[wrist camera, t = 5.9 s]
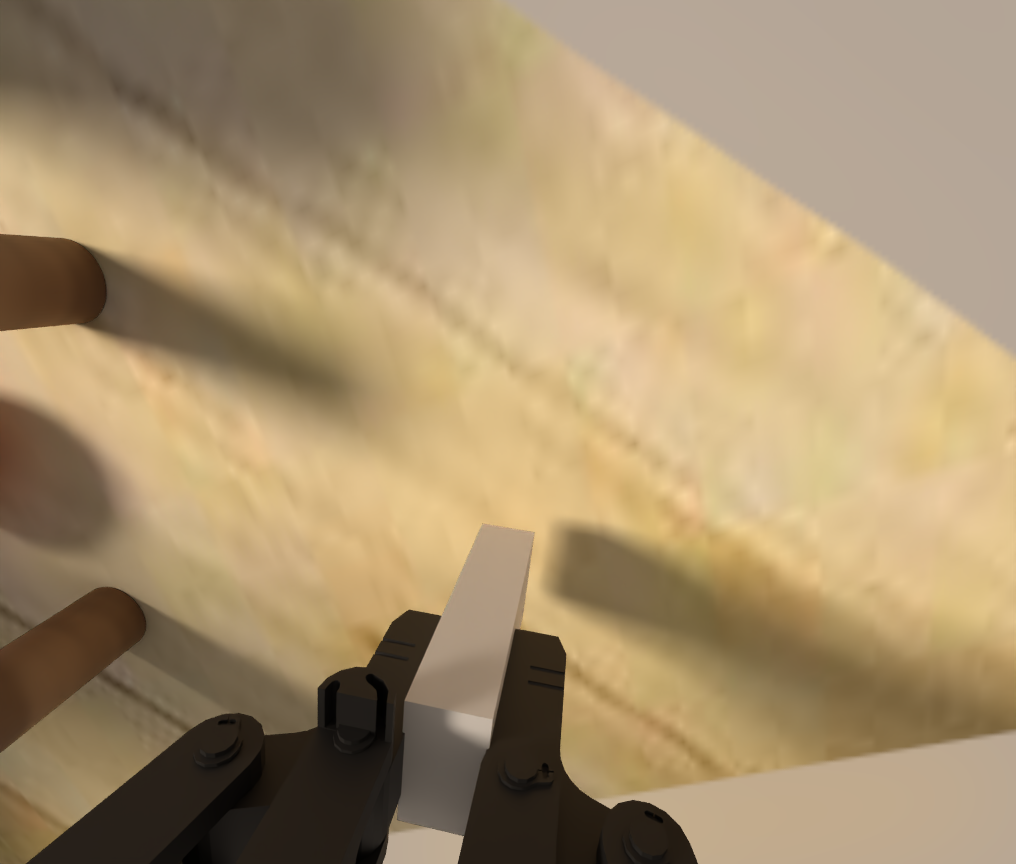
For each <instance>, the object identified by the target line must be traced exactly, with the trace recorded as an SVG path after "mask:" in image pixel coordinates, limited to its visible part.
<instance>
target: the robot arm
mask: <svg viewBox="0 0 1016 864" xmlns="http://www.w3.org/2000/svg"><path fill="white" fill-rule="evenodd" d="M533 539H534V532H530V531H524V530H518V529H512V528H507V527H501V526H495V525H489V524H483V523H482V525H481V528H480V530H479V532H478V534H477V537H476V539H475V541H474V543H473V546H472V548H471V550H470V553H469V555H468V557H467V559H466V562H465V564H464V566H463V569H462V571H461V573H460V575H459V578H458V580H457V582H456V584H455V587H454V589H453V591H452V594H451V596H450V598H449V600H448V603H447V605H446V607H445V609H444V612H443V614H442V616H439V615H434V614H429V613H424V612H419V611H413V610H408V611H406V612H405V613H404V614H402V615H401V616H400V617H398V618H397V619H396V620H394V621H393V622H392V624H391V625H390V627H389V629H388V630H387V632H386V634H385V636H384V637H383V641H381V643H380V644H379V646H378V648H377V650H376V652H375V655H373V657H372V658H371V660H370V662H369V664H368V665H367V667H354V668H349V669H345V670H341V671H339V672H337V673H335V674H334V675H332V676H330V677H328V678H327V679H326V680H325V681H324V682H323V683H322V684H321V685H320V686H319V687H318V727H316V728H314V729H311V730H308V731H303V732H297V733H288V734H275V735H264V733H263V729H262V725H261V724H260V723H259V722H258V721H257V720H256V719H254V718H253V717H251V716H248V715H244V714H240V713H235V714H222V715H220V716H217V717H214V718H211V719H208V720H205V721H204V722H202V723H200V724H199V725H197V726H196V727H194V728H192V729H191V730H189V731H188V732H187V733H186V734H184V735H183V736H182V737H181V738H180V739H178V740H177V741H176V742H175V743H173V744H172V745H171V746H170V747H169V748H167V749H166V750H165V751H164V752H162V753H161V754H160V755H159V756H157V757H156V758H155V759H154V760H153V761H151V762H150V763H149V764H148V765H146V766H145V767H144V768H143V769H142V770H140V771H139V772H138V773H137V774H135V775H134V776H133V777H132V778H130V779H129V780H128V781H127V782H126V783H124V784H123V785H122V786H121V787H119V788H118V789H117V790H116V791H115V792H113V793H112V794H111V795H110V796H108V797H107V798H106V799H105V800H103V801H102V802H101V803H100V804H99V805H97V806H96V807H95V808H94V809H92V810H91V811H90V812H89V813H88V814H86V815H85V816H84V817H83V818H81V819H80V820H79V821H78V822H76V823H75V824H74V825H73V826H72V827H70V828H69V829H68V830H67V831H65V832H64V833H63V834H62V835H60V836H59V837H58V838H57V839H56V840H54V841H53V842H52V843H51V844H49V845H48V846H47V847H46V848H45V849H43V850H42V851H41V852H40V853H38V854H37V855H36V856H35V857H33V858H32V859H31V860H30V861H29V862H27V863H26V864H382V863H383V860H384V858H385V855H386V849H387V844H388V834H389V826H390V823H391V821H392V818H393V815H394V812H395V810H396V807H397V804H398V813H397V820H399V821H403V822H407V823H411V824H416V825H420V826H424V827H428V828H432V829H436V830H441V831H445V832H449V833H453V834H458V835H462V836H464V839H463V843H462V848H461V852H460V856H459V861H458V864H698V863H697V860H696V858H695V855H694V852H693V850H692V848H691V845H690V843H689V841H688V839H687V837H686V836H685V834H684V832H683V831H682V829H681V827H680V826H679V825H678V824H677V823H676V822H675V821H674V820H673V819H672V818H671V817H670V816H669V815H668V814H667V813H666V812H665V811H663V810H661V809H659V808H657V807H656V806H654V805H652V804H650V803H646V802H641V801H635V800H631V801H626V802H622V803H618V804H617V805H616V806H615V807H613V808H612V809H609V808H608V807H606V806H604V805H602V804H601V803H599V802H597V801H596V800H594V799H592V798H590V797H589V796H588V795H586V794H585V793H583V792H582V791H581V790H579V789H578V787H577V786H576V785H575V784H574V783H573V782H572V781H571V780H570V778H569V777H568V775H567V773H566V772H565V770H564V767H563V764H562V762H561V757H560V740H561V725H562V711H563V696H564V681H565V666H566V653H565V650H564V648H563V646H562V644H561V642H560V640H559V637H556V636H551V635H546V634H541V633H536V632H530V631H525V630H520V627H521V622H522V617H523V612H524V604H525V597H526V590H527V583H528V576H529V568H530V561H531V554H532V547H533Z"/></svg>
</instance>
